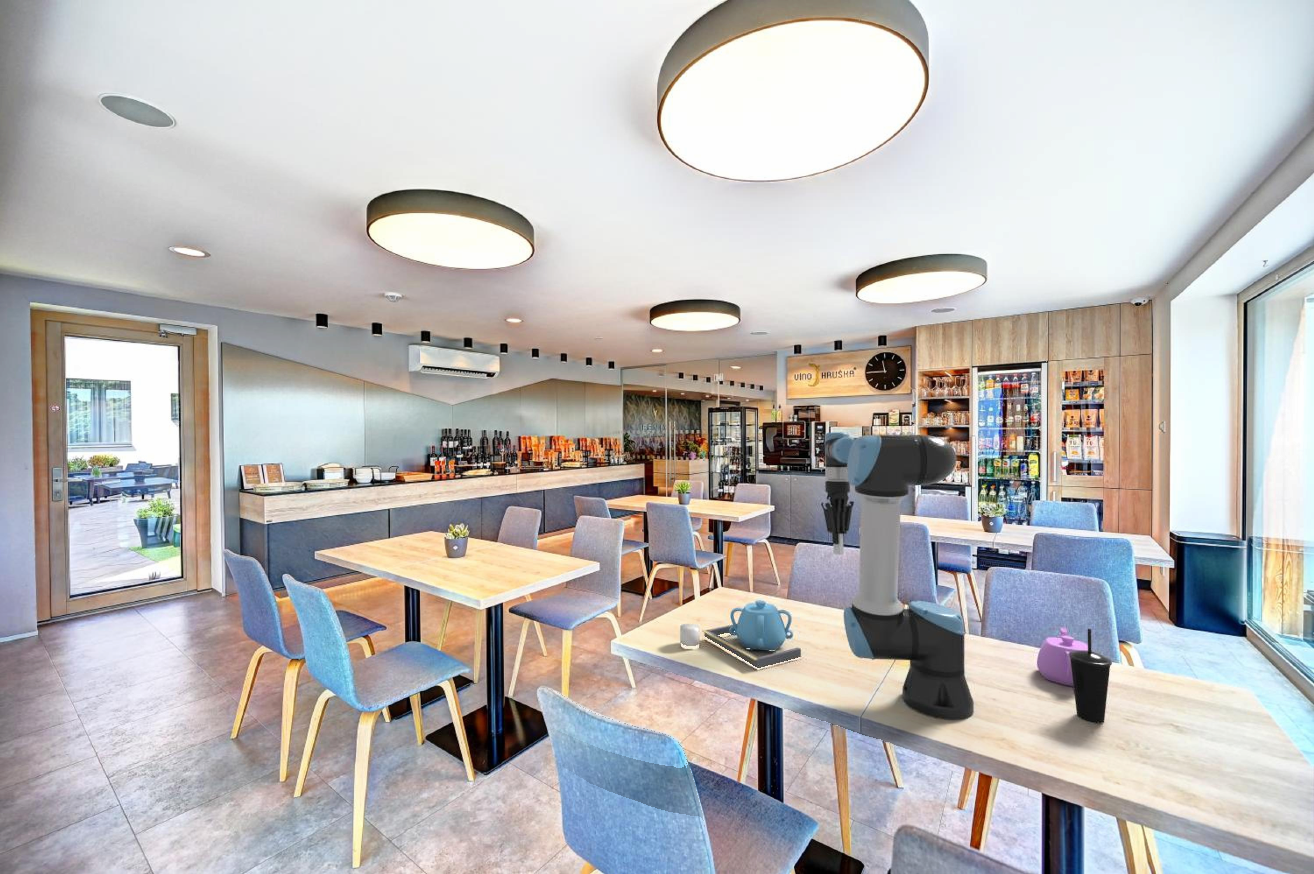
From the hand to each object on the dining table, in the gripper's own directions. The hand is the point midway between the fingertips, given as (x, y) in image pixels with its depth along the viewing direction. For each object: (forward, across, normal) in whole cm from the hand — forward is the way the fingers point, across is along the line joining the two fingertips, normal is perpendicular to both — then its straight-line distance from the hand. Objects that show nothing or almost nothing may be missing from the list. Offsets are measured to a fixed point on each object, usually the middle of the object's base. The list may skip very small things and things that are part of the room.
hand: (838, 553), depth 173 cm
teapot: (+28, -28, +51) cm, 65 cm away
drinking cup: (+28, -8, +64) cm, 70 cm away
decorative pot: (+27, +25, -9) cm, 38 cm away
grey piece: (+27, +30, -8) cm, 41 cm away
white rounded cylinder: (+27, +44, -20) cm, 56 cm away
